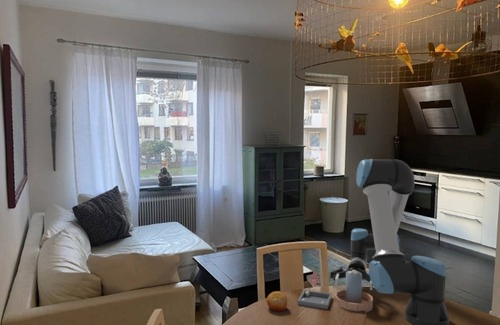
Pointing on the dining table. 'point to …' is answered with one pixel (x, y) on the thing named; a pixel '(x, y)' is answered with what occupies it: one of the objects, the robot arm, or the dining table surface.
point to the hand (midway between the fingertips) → (353, 284)
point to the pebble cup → (353, 287)
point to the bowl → (363, 306)
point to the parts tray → (315, 299)
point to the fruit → (277, 301)
